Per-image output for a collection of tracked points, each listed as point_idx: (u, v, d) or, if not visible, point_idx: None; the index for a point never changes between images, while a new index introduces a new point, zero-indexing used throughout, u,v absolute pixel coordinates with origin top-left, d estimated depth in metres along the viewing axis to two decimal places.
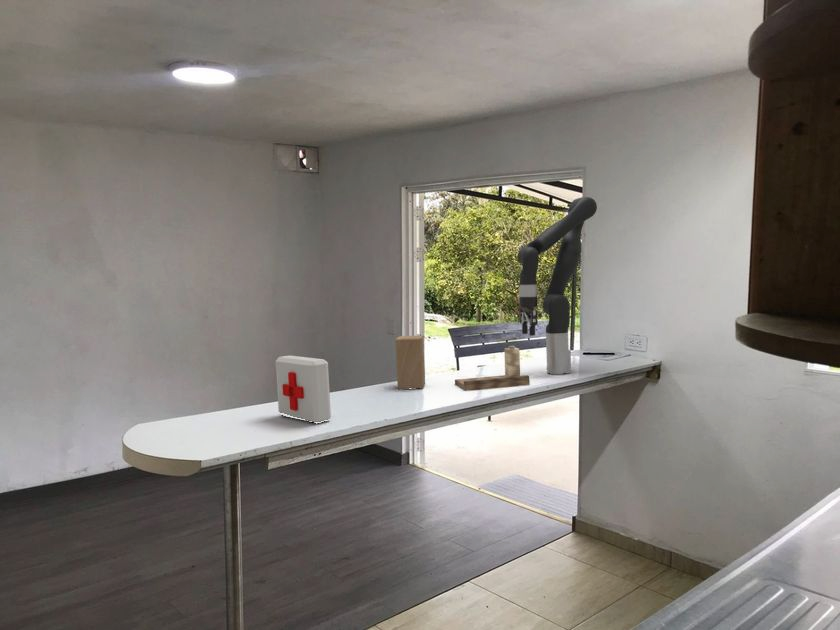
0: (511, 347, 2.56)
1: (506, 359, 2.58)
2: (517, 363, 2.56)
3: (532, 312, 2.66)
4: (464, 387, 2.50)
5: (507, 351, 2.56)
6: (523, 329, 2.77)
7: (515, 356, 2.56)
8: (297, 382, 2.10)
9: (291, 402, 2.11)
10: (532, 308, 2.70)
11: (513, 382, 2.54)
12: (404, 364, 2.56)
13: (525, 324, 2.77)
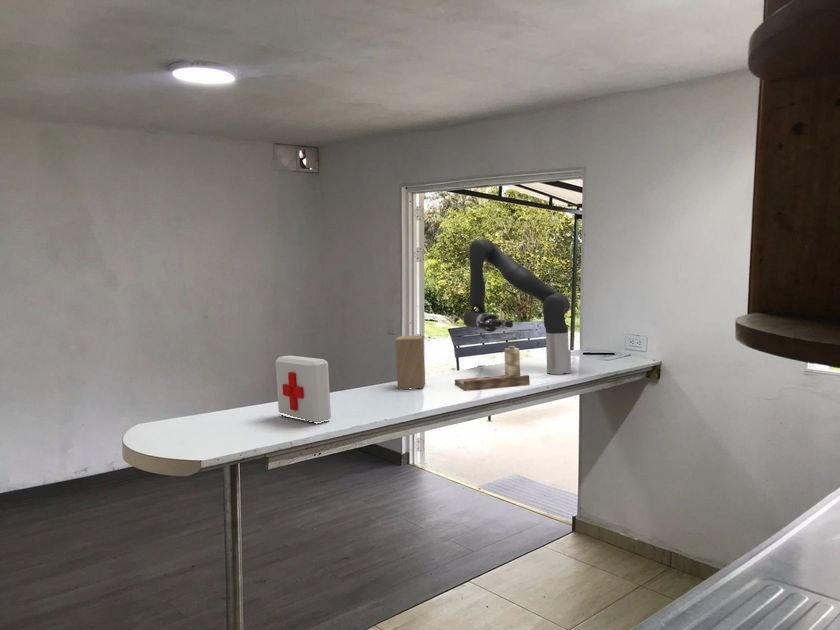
0: (511, 347, 2.56)
1: (506, 359, 2.58)
2: (517, 363, 2.56)
3: (477, 326, 2.75)
4: (464, 387, 2.50)
5: (507, 351, 2.56)
6: (508, 326, 2.70)
7: (515, 356, 2.56)
8: (297, 382, 2.10)
9: (291, 402, 2.11)
10: (483, 322, 2.77)
11: (513, 382, 2.54)
12: (404, 364, 2.56)
13: (506, 323, 2.72)
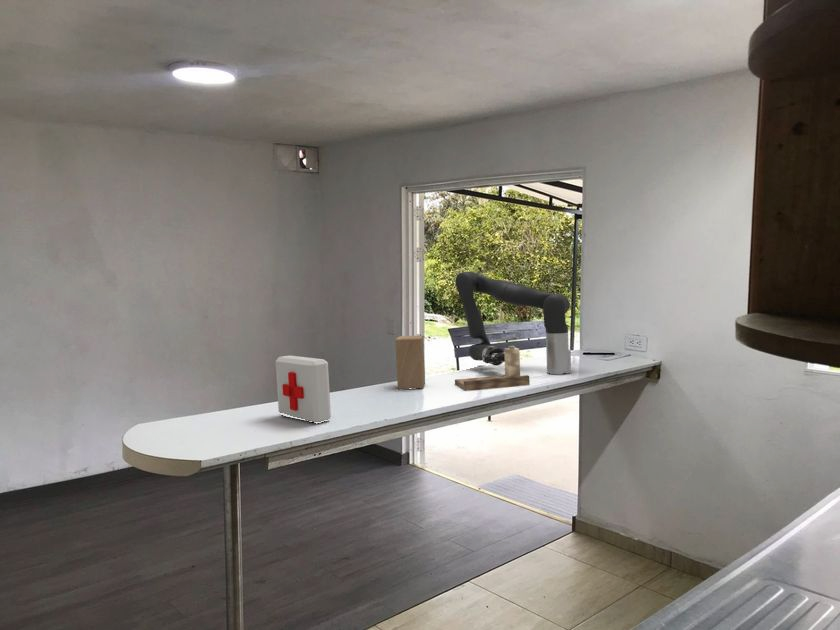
0: (511, 347, 2.56)
1: (506, 359, 2.58)
2: (517, 363, 2.56)
3: (483, 360, 2.71)
4: (464, 387, 2.50)
5: (507, 351, 2.56)
6: None
7: (515, 356, 2.56)
8: (297, 382, 2.10)
9: (291, 402, 2.11)
10: (489, 356, 2.73)
11: (513, 382, 2.54)
12: (404, 364, 2.56)
13: None
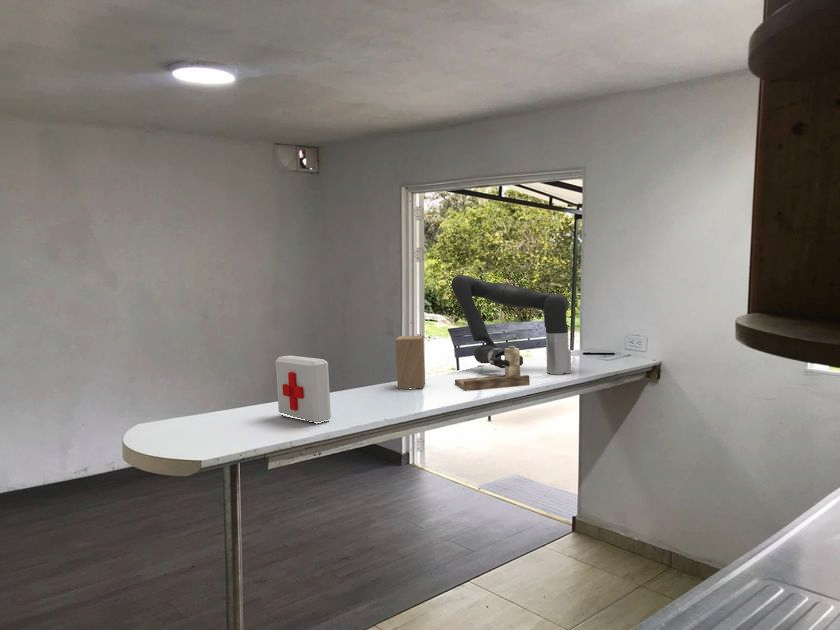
0: (511, 347, 2.56)
1: (506, 359, 2.58)
2: (517, 363, 2.56)
3: (491, 363, 2.63)
4: (464, 387, 2.50)
5: (507, 351, 2.56)
6: None
7: (516, 356, 2.56)
8: (297, 382, 2.10)
9: (291, 402, 2.11)
10: None
11: (513, 382, 2.54)
12: (404, 364, 2.56)
13: None
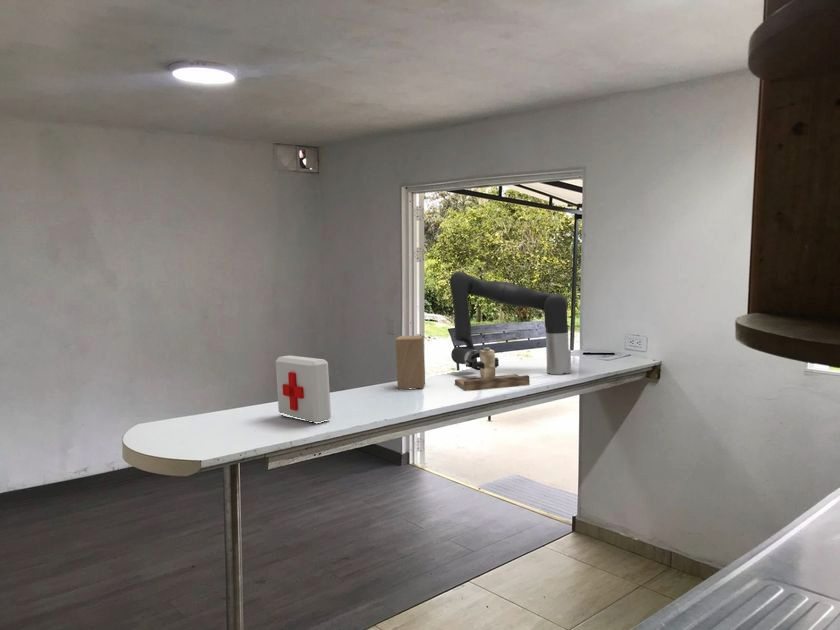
0: (486, 349, 2.54)
1: (481, 361, 2.55)
2: (492, 365, 2.54)
3: (466, 365, 2.60)
4: (464, 387, 2.50)
5: (482, 353, 2.54)
6: None
7: (490, 358, 2.53)
8: (297, 382, 2.10)
9: (291, 402, 2.11)
10: None
11: (513, 382, 2.54)
12: (404, 364, 2.56)
13: None
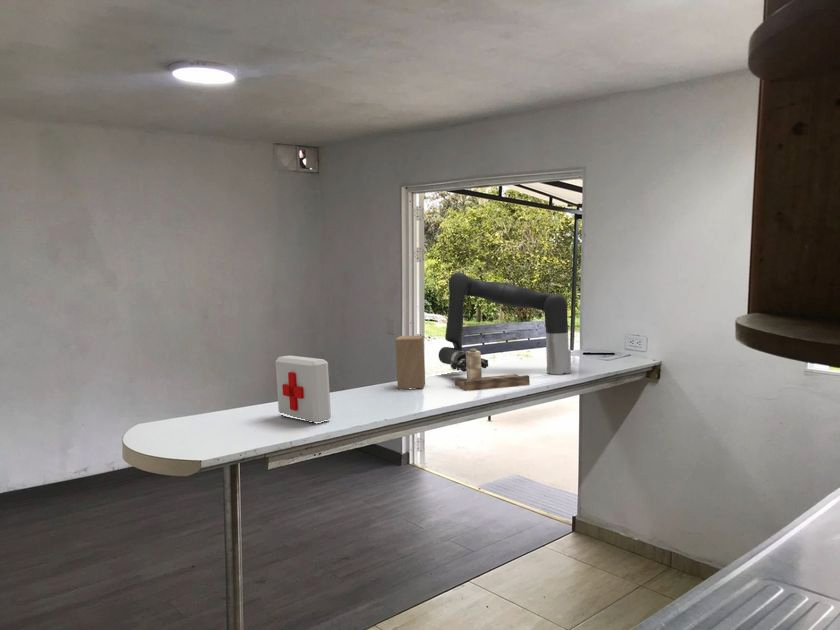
0: (472, 350, 2.53)
1: (467, 362, 2.54)
2: (478, 366, 2.52)
3: (451, 366, 2.60)
4: (464, 387, 2.50)
5: (468, 354, 2.52)
6: (483, 366, 2.55)
7: (477, 359, 2.52)
8: (297, 382, 2.10)
9: (291, 402, 2.11)
10: (457, 362, 2.62)
11: (513, 382, 2.54)
12: (404, 364, 2.56)
13: (481, 363, 2.57)
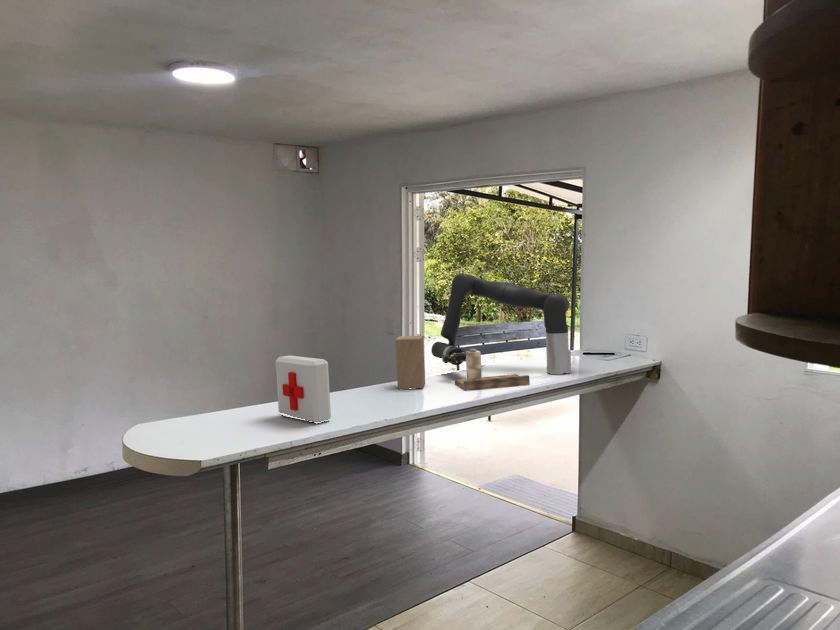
0: (472, 350, 2.53)
1: (467, 362, 2.54)
2: (478, 366, 2.52)
3: (442, 360, 2.73)
4: (464, 387, 2.50)
5: (468, 354, 2.52)
6: None
7: (477, 359, 2.52)
8: (297, 382, 2.10)
9: (291, 402, 2.11)
10: (448, 356, 2.75)
11: (513, 382, 2.54)
12: (404, 364, 2.56)
13: None
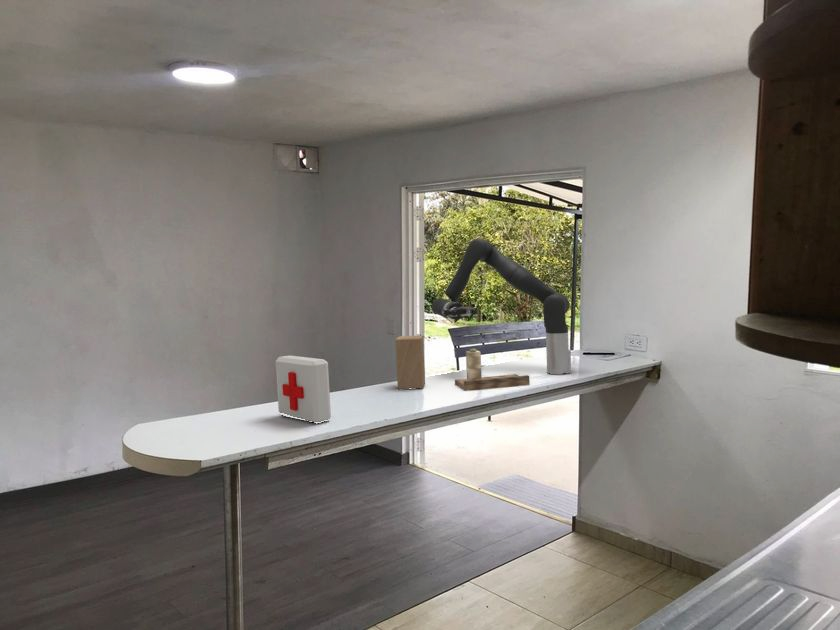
0: (472, 350, 2.53)
1: (467, 362, 2.54)
2: (478, 366, 2.52)
3: (442, 314, 2.75)
4: (464, 387, 2.50)
5: (468, 354, 2.52)
6: (472, 313, 2.70)
7: (477, 359, 2.52)
8: (297, 382, 2.10)
9: (291, 402, 2.11)
10: (448, 310, 2.77)
11: (513, 382, 2.54)
12: (404, 364, 2.56)
13: (471, 311, 2.72)
